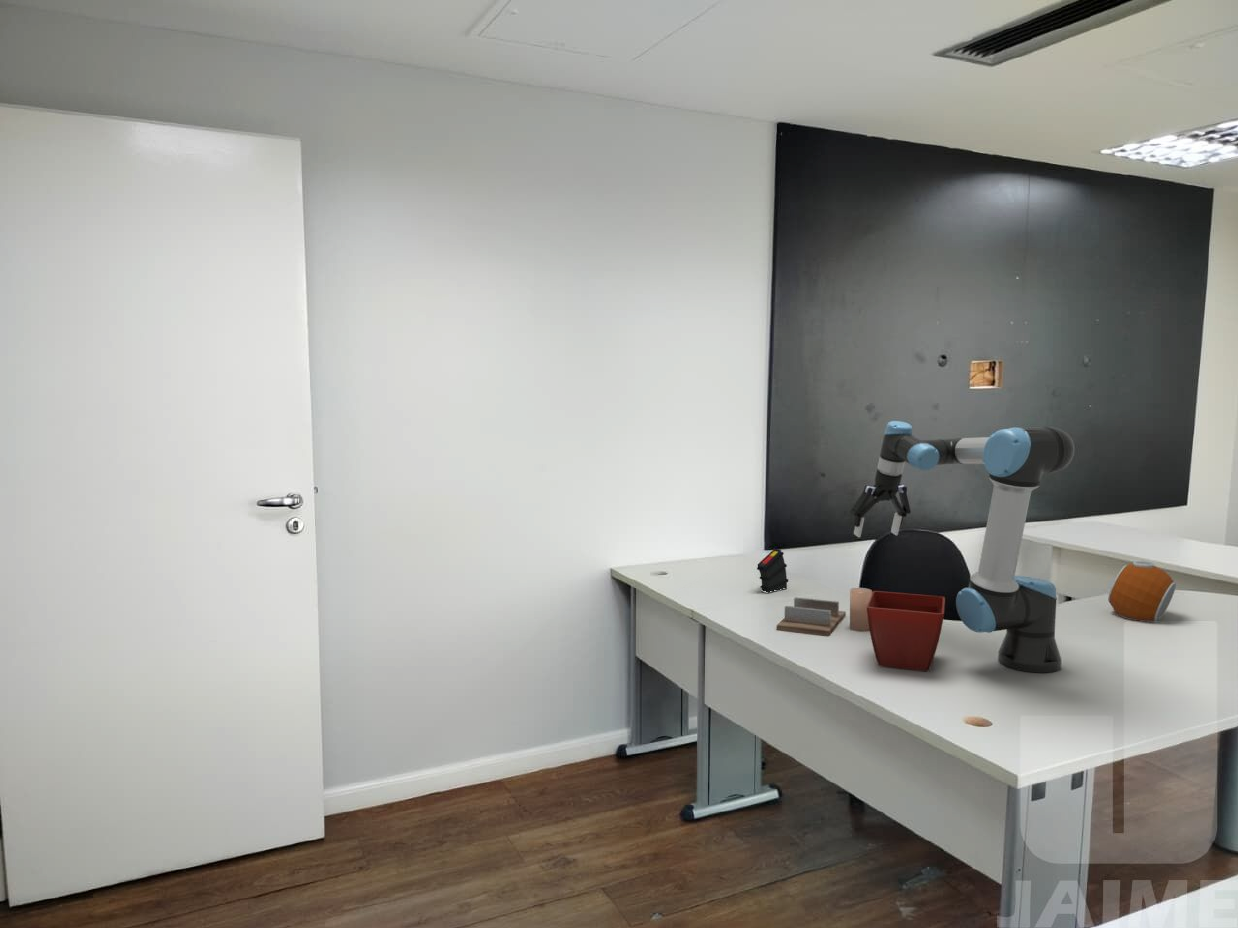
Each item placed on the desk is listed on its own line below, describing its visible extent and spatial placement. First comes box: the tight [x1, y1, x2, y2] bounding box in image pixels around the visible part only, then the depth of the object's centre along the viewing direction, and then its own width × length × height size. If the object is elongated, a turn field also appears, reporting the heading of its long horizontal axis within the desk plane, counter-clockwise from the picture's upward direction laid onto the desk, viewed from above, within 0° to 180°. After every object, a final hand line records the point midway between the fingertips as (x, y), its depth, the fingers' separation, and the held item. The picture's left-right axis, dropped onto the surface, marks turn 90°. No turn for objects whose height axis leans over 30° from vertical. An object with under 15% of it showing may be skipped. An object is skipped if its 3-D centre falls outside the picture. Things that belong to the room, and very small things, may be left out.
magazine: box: [756, 548, 789, 592], centre depth 309 cm, size 4×13×15 cm, turn 130°
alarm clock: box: [1107, 560, 1177, 622], centre depth 269 cm, size 19×18×17 cm
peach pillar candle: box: [849, 587, 873, 633], centre depth 260 cm, size 6×6×12 cm
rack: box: [776, 597, 847, 637], centre depth 267 cm, size 24×16×6 cm, turn 154°
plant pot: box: [867, 590, 946, 672], centre depth 228 cm, size 19×19×17 cm
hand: (875, 534), depth 265 cm, fingers open, 13 cm apart
